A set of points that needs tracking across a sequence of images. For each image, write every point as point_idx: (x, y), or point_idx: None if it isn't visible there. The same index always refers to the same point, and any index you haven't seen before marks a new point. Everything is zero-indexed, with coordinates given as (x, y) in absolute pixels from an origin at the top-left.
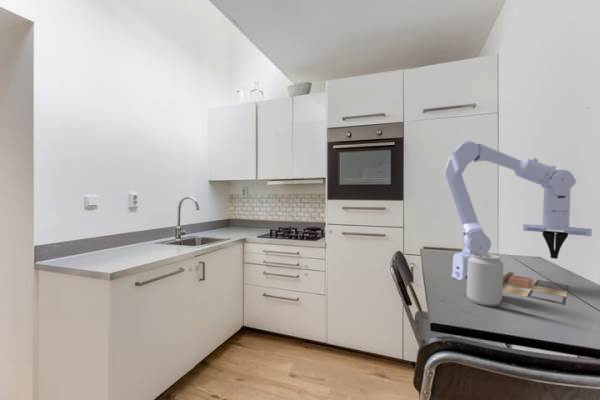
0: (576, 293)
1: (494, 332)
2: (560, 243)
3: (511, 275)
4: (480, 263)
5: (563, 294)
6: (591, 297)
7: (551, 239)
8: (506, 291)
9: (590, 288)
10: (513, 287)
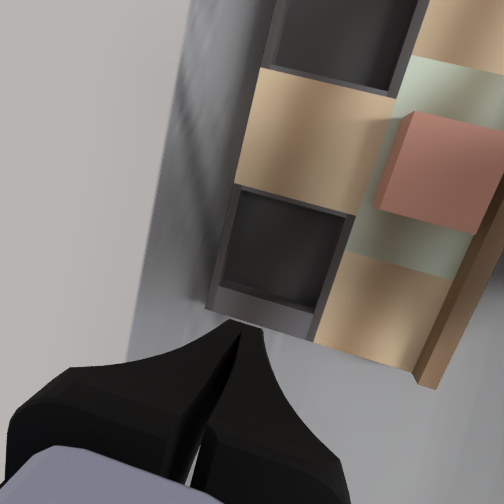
0: (192, 271)
1: None
2: (160, 363)
3: (482, 215)
4: None
5: (262, 108)
6: (155, 241)
7: (238, 407)
8: None
9: None
10: (484, 84)
